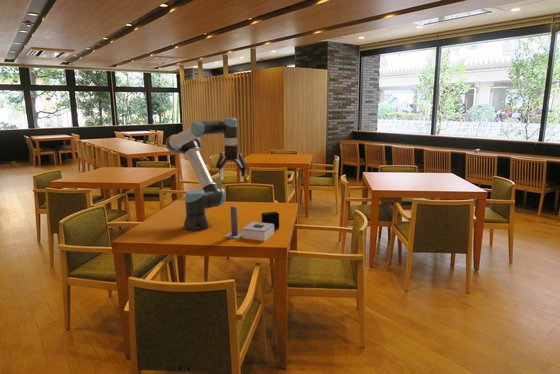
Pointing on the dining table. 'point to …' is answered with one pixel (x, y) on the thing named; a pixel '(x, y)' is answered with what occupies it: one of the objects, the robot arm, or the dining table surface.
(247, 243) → the dining table surface
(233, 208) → the stylus
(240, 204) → the dining table surface
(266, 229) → the box
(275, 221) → the electronic device
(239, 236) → the pad
